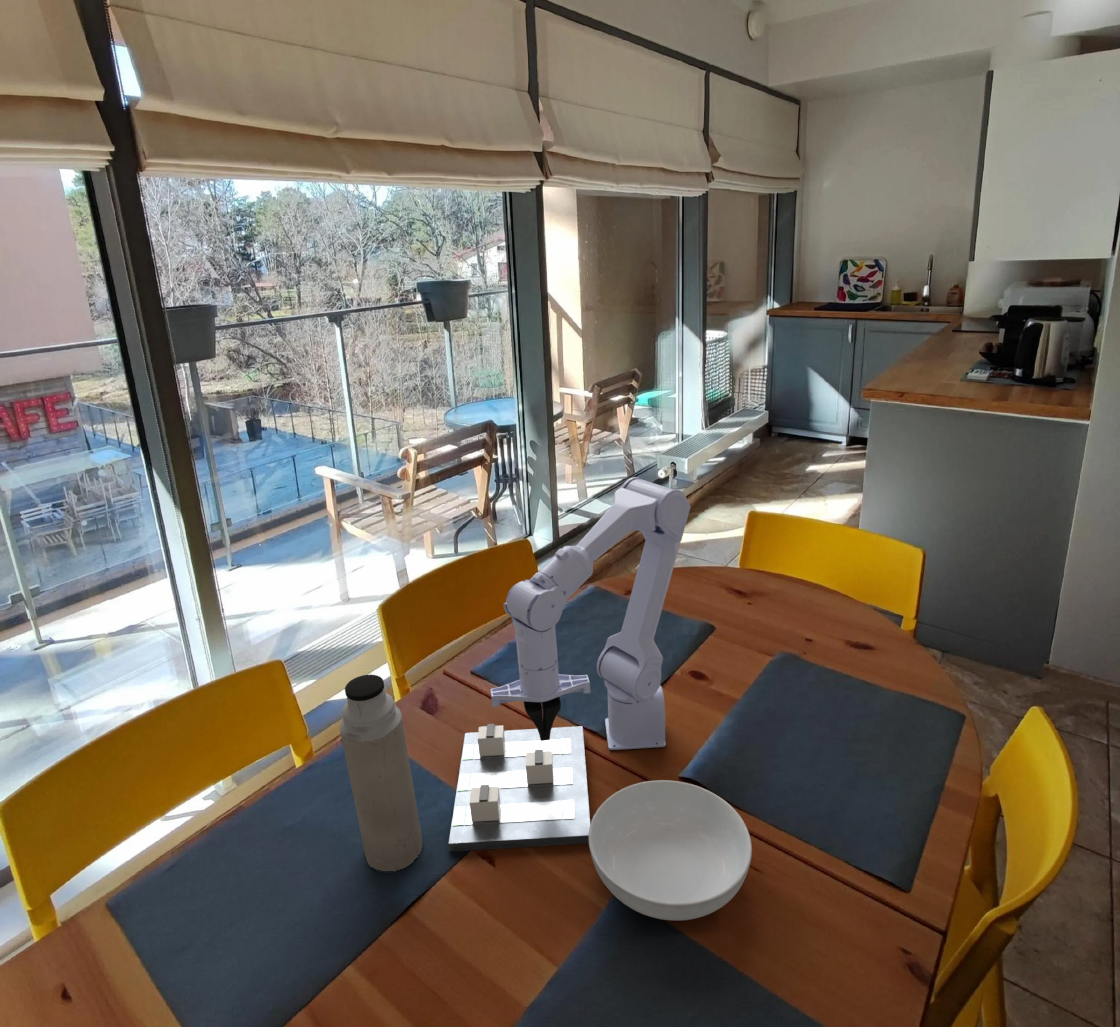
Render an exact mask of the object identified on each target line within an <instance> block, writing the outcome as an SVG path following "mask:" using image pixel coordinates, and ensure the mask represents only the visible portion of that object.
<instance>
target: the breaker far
mask: <svg viewBox="0 0 1120 1027" xmlns="http://www.w3.org/2000/svg"><path fill="white" fill-rule="evenodd" d="M486 725H487V726H486ZM486 725H484V726H479V727H478V747H479V755H480V756H494V755H504V752H505V736H504V731H505V728H504V725H495V723H489V724H488V723H487V724H486Z"/></svg>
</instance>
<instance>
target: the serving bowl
mask: <svg viewBox="0 0 1120 1027" xmlns="http://www.w3.org/2000/svg"><path fill="white" fill-rule="evenodd" d="M588 847H589V851H590V855H591V860H592V863H593V866H594V868H595V870H596V872H597V874H598V876H599V878H600V879H601V882H602V883H603V884H604V886H606V888H607V889H608V890H609V892H610V893H611V894H612V895H613V896H614V897H615V898H616V899H617V900H619V902H621V903H622V904H624V905H625V906H627V908H628V907H629V908H630V909H632V910H633V911H635V912H637V913H639V914H642V915H644V916H648V917H649V918H650V917H651V918H654V919H658V920H664V921H665V920H666V921H677V922H678V921H689V920H690V921H691V920H695V919H700V918H702V917H705V916H708V915H710V914H712V913H714V912H716V911H718V910H720V908H721V909H722V908H723V907H724V906H725V905H726V904H728V903H729V902H730V901H731V900H732V899H733V898H734V897H735V896H736V895H737V893H738V892H739V891H740V889H741V887H742V886H743V883H744V882H745V879H746V877H747V875H748V872H749V869H750V865H751V861H752V855H753V846H752V840H751V835H750V832H749V830H748V828H747V825H746V823H745V822H744V820H743V818H742V817H741V815H740V814H739V812H738V811H736V809H735V807H733V806H732V805H731V804H730V803H728V802H727V801H726V800H725V799H723V798H722V797H720V796H718V795H717V794H715V793H714V792H712V791H710V790H708V789H707V788H706V789H705V788H703V787H702V786H698V785H695V784H692V783H688V782H683V781H676V780H669V779H668V780H667V779H665V780H664V779H661V780H660V779H659V780H647V781H643V782H642V781H641V782H638V783H635V784H631V785H628V786H626V787H624V788H621V789H620V790H618V791H616V792H614V793H613V794H611V795H610V796H609V797H608V798H606V799H605V800H604V801H603V802H602V803H601V805H599V807H598V808H597V810H596V811H595V813H594V814H593V816H592V819H591V820H590V828H589V843H588Z"/></svg>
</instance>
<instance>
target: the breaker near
mask: <svg viewBox="0 0 1120 1027" xmlns="http://www.w3.org/2000/svg"><path fill="white" fill-rule="evenodd" d="M500 808H501V803H500V794H499V786H493V787H489V785H481V787H476V788H471V795H470V810H471V818H472V822H476V821H493V820H500Z"/></svg>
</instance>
